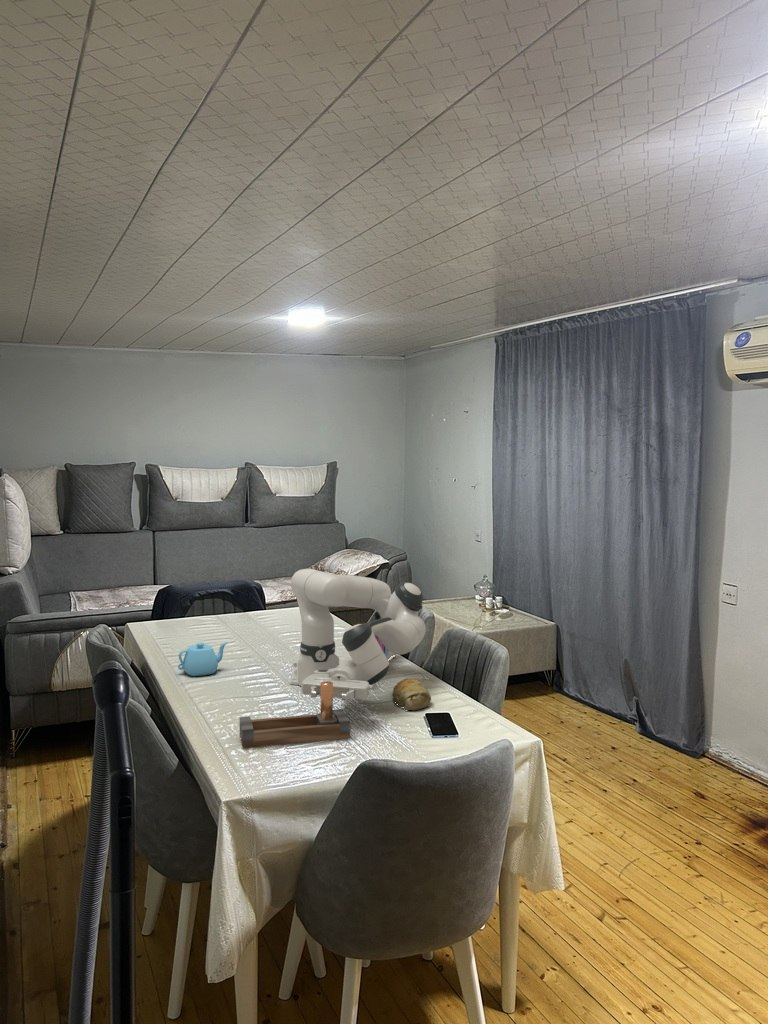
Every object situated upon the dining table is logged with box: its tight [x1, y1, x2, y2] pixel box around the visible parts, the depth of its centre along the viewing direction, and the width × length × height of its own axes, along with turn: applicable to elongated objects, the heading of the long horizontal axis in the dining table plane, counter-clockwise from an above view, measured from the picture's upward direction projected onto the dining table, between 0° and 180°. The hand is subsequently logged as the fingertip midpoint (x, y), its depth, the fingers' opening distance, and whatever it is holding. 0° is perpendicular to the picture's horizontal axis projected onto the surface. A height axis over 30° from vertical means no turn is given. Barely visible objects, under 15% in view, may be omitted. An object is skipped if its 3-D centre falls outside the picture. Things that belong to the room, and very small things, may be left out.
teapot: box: [177, 641, 229, 677], centre depth 277 cm, size 13×11×18 cm
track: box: [239, 708, 351, 748], centre depth 218 cm, size 10×30×5 cm, turn 105°
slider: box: [315, 681, 337, 725], centre depth 220 cm, size 6×5×13 cm
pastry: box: [391, 678, 432, 711], centre depth 246 cm, size 14×12×8 cm
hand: (328, 696), depth 222 cm, fingers open, 8 cm apart
